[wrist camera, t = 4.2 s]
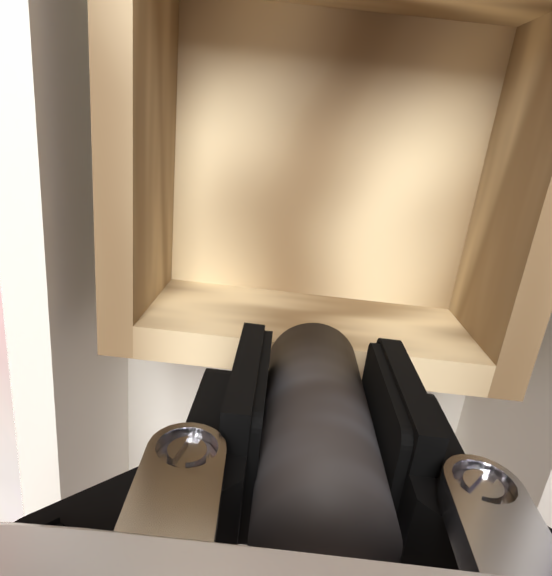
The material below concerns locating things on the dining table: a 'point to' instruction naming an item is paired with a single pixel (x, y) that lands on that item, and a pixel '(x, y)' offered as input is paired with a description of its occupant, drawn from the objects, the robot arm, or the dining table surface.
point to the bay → (82, 295)
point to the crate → (325, 217)
